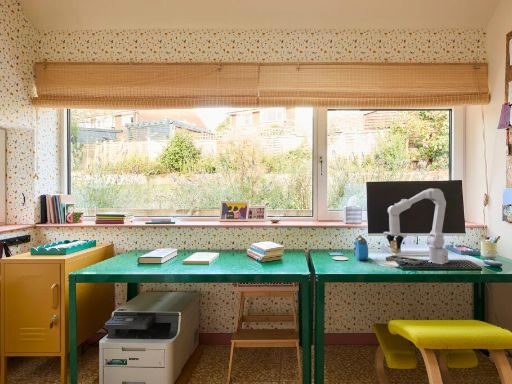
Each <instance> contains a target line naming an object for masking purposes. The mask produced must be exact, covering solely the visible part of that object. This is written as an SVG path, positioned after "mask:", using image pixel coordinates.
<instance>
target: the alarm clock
mask: <svg viewBox="0 0 512 384" xmlns="http://www.w3.org/2000/svg"><path fill="white" fill-rule="evenodd" d="M354 253H355V258H356V260H358V261H368V258H369V246H368V242H367V240H366V239H365V238H364V237H363V236H361V235H358V236H356V237H355V241H354Z"/></svg>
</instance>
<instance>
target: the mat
mask: <svg viewBox="0 0 512 384" xmlns="http://www.w3.org/2000/svg"><path fill="white" fill-rule="evenodd" d="M383 265H385V266H390V267H396V268H397V267H400V266H399V265H398V264H397V263H396V262H395V261H388V262H385V263H383Z"/></svg>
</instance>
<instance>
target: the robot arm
mask: <svg viewBox="0 0 512 384" xmlns="http://www.w3.org/2000/svg"><path fill="white" fill-rule="evenodd" d="M424 199H428V200H430V201H431V202H433V204H434V205H435V206H434V213H433V221H432V226H431V227H432V229H431V230H430V232H429V235H428V236H427V239H426V242H427V243H428V251H429V252H428V253H429V260H427V261H428V262H427V263H431V262H432V264H437V265H444V264H447V263H449V262H450V261H449V251H448V249H447V248H444V245H445V239H444V234H443V226H444V219H445V213H446V207H447V201H446V198H445V196H444V192H443V191H442V190H441V189H440V188H431V187H430V188H427V189H425V190H422V191H421V192H419V193H417V194H415V195H414V196H412V197H410V198H409V199H407V198H402V199H400V201H399V202H396V203H395V202H394V205H390V206H389V207H387V210H386V212H387V213H388V217H389V218H388V221H389V222H388V223H389V224H388V225H389V226H388V227H389V231H383V236H386V237H385V238H386V239H387V241H388V243H389V246H390V248H391V242H390V241H394V240H396V242H397V249H400V247H401V248H402V243H403V240H404V238H407V236H408V234H407V233H403V232H401V228H400V227H401V226H400V214H401V213H402V212H404V211H406V210H408V209H410V208H411V206H412V205H413V204H415V203H417V202H419V201H421V200H424Z"/></svg>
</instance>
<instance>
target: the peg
mask: <svg viewBox="0 0 512 384" xmlns="http://www.w3.org/2000/svg"><path fill="white" fill-rule="evenodd" d="M390 242H391V247H390V253H391V254H396V255H398V254H400V253H402V246H401V247H400V249H397V242H396V239H394V241H390Z"/></svg>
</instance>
